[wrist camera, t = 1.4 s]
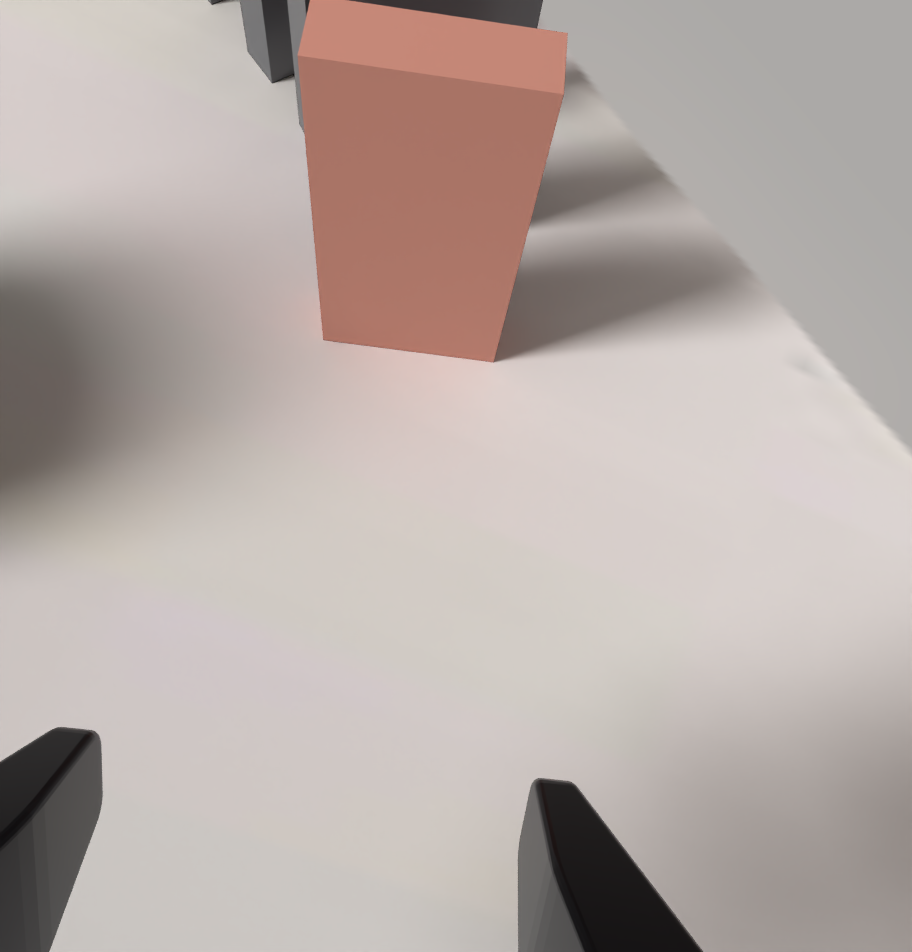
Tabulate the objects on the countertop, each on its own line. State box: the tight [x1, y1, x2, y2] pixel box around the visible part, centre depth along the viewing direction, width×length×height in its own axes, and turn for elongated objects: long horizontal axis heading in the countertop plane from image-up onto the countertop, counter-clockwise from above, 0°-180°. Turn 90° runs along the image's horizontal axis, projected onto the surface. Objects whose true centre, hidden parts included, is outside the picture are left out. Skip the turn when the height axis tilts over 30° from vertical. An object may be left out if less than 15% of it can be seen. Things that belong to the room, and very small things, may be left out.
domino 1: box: [298, 0, 567, 362], centre depth 21 cm, size 2×5×10 cm, turn 84°
